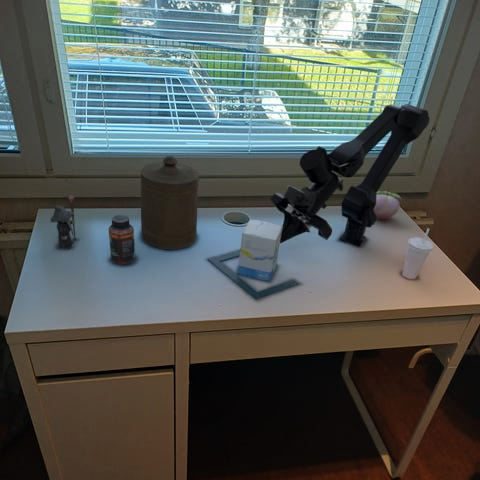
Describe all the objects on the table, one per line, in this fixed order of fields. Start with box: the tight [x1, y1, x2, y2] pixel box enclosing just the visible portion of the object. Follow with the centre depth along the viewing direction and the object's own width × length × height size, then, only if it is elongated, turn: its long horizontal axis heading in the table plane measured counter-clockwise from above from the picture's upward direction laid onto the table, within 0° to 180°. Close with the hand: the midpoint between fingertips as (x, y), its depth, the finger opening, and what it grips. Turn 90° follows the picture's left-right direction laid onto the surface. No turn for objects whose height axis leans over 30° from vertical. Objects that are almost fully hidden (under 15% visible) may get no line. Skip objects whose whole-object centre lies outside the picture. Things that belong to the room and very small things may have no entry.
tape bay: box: [207, 250, 299, 300], centre depth 120 cm, size 14×20×1 cm
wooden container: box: [140, 155, 200, 250], centre depth 123 cm, size 15×15×22 cm
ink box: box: [237, 218, 283, 282], centre depth 117 cm, size 8×8×12 cm
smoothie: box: [401, 227, 434, 280], centre depth 122 cm, size 6×6×14 cm
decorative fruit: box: [373, 189, 403, 220], centre depth 150 cm, size 9×8×10 cm
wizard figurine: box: [49, 194, 76, 250], centre depth 118 cm, size 8×6×12 cm
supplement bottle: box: [108, 214, 136, 266], centre depth 115 cm, size 6×6×11 cm
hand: (279, 241), depth 120 cm, fingers closed
